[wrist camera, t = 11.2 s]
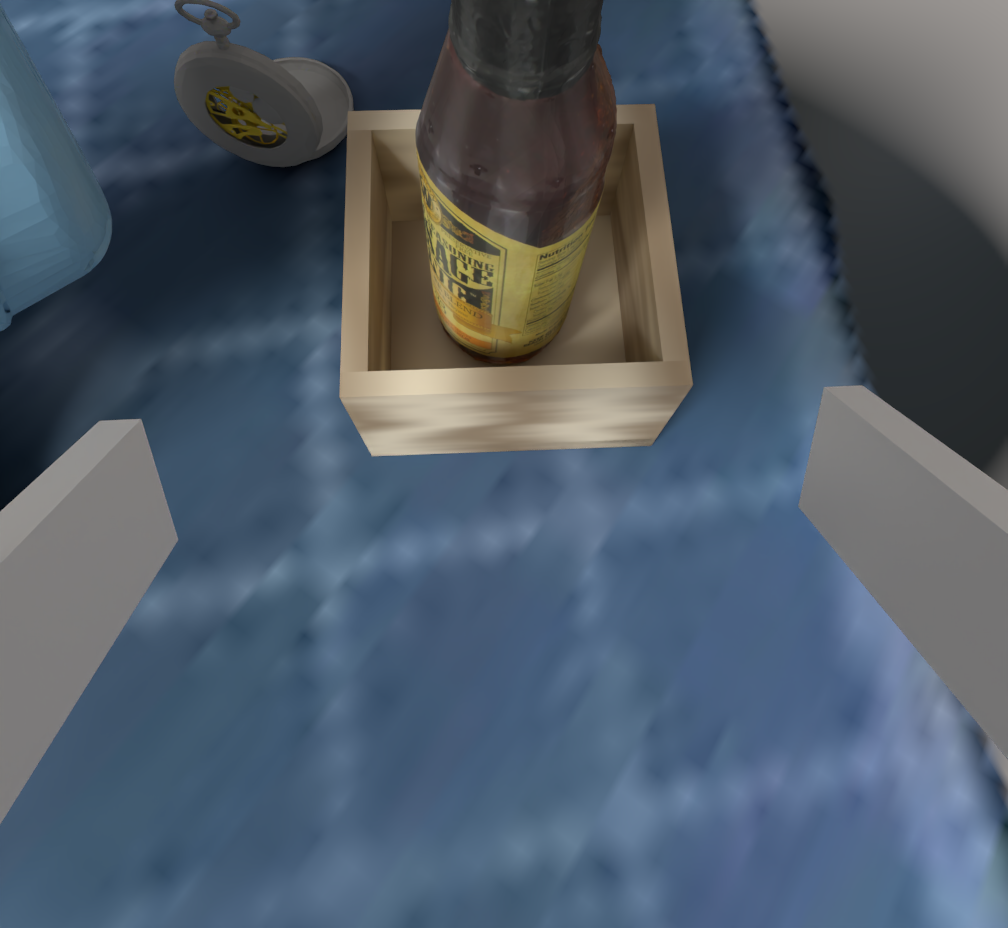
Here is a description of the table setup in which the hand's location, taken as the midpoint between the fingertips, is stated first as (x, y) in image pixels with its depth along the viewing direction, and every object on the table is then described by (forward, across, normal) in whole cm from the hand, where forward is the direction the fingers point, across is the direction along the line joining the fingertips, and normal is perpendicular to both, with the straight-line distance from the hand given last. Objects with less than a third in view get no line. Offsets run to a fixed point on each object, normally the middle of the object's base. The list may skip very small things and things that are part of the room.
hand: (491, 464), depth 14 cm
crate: (+21, +2, -4) cm, 21 cm away
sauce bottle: (+20, +1, -3) cm, 20 cm away
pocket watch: (+30, -10, +4) cm, 32 cm away
